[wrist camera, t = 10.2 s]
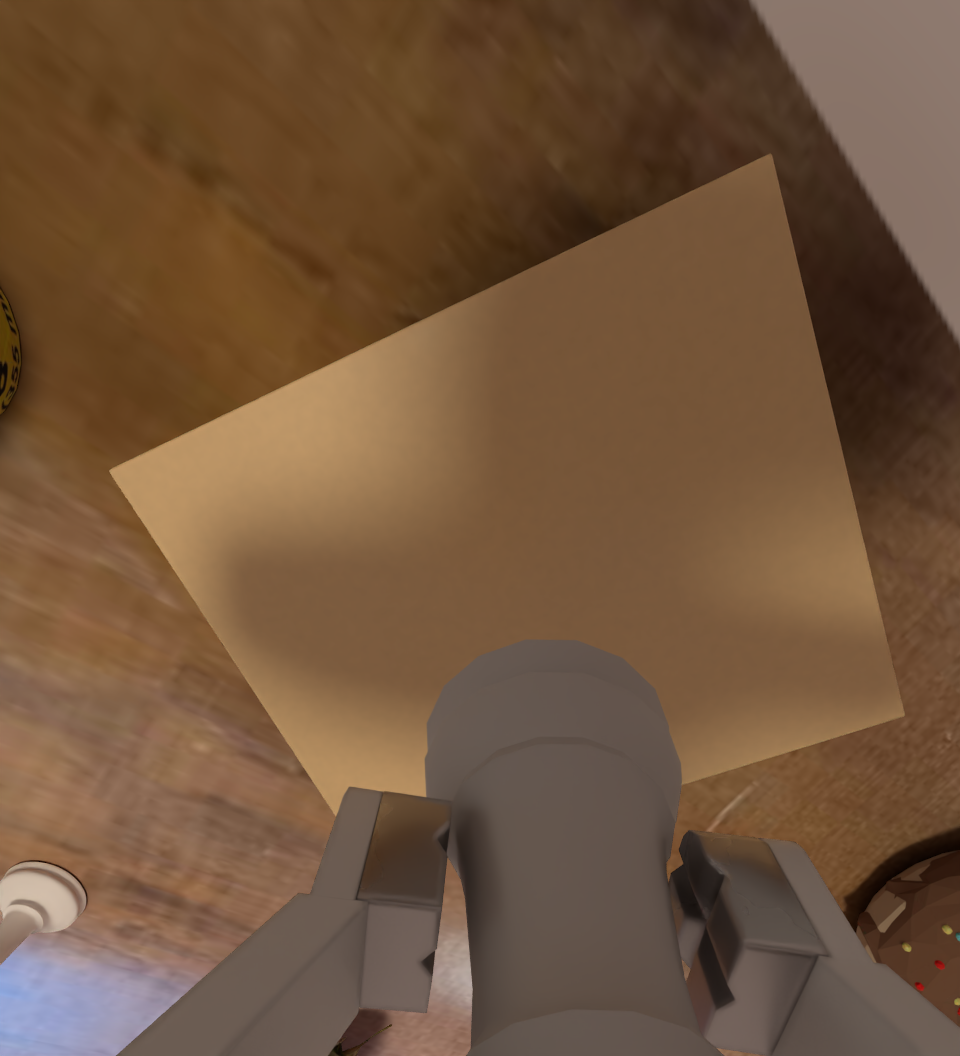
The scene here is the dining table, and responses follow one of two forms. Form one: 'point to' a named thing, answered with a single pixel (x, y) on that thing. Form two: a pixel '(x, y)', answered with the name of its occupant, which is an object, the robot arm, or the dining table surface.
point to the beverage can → (8, 354)
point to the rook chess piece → (564, 852)
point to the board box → (548, 504)
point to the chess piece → (36, 902)
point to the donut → (920, 930)
